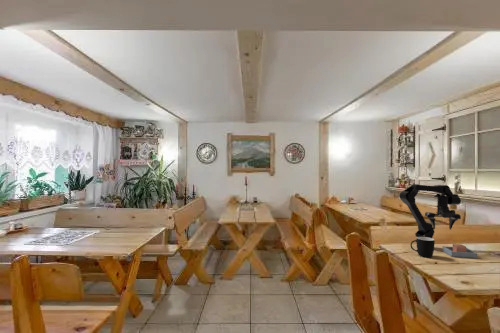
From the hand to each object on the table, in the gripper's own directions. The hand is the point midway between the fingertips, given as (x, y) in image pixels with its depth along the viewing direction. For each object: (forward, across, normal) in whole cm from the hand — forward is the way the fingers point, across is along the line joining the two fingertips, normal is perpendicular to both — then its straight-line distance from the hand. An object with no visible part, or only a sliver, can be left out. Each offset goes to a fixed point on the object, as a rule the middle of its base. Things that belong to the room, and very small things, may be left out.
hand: (442, 229), depth 190 cm
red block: (+11, +3, -15) cm, 19 cm away
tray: (+12, +4, -15) cm, 20 cm away
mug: (+12, -19, -23) cm, 32 cm away
